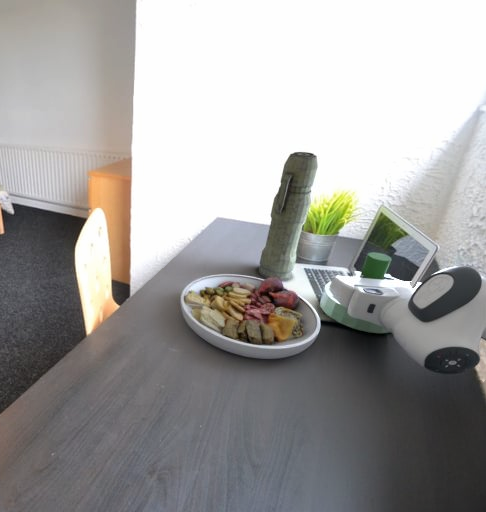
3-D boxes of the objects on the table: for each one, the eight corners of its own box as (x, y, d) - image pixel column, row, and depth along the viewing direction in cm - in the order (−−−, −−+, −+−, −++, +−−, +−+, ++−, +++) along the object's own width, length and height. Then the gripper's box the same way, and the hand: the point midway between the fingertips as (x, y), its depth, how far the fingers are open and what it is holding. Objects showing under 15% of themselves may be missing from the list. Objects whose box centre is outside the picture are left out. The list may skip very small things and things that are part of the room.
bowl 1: (275, 390, 69) (285, 359, 66) (153, 319, 90) (156, 291, 87) (336, 326, 86) (346, 298, 83) (221, 278, 107) (225, 254, 104)
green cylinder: (368, 296, 90) (385, 253, 85) (376, 306, 86) (395, 261, 81) (348, 294, 91) (364, 251, 86) (356, 304, 87) (373, 259, 82)
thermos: (299, 272, 109) (332, 152, 93) (279, 285, 103) (311, 159, 87) (270, 261, 116) (296, 148, 100) (249, 273, 109) (274, 154, 93)
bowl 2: (378, 299, 96) (385, 282, 94) (414, 339, 82) (422, 320, 80) (310, 293, 99) (315, 277, 97) (333, 330, 85) (339, 312, 83)
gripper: (468, 301, 71) (425, 267, 83) (350, 290, 75) (326, 260, 87) (454, 327, 74) (415, 291, 86) (341, 315, 78) (318, 282, 90)
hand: (369, 275), depth 87 cm, fingers closed on green cylinder, 4 cm apart
